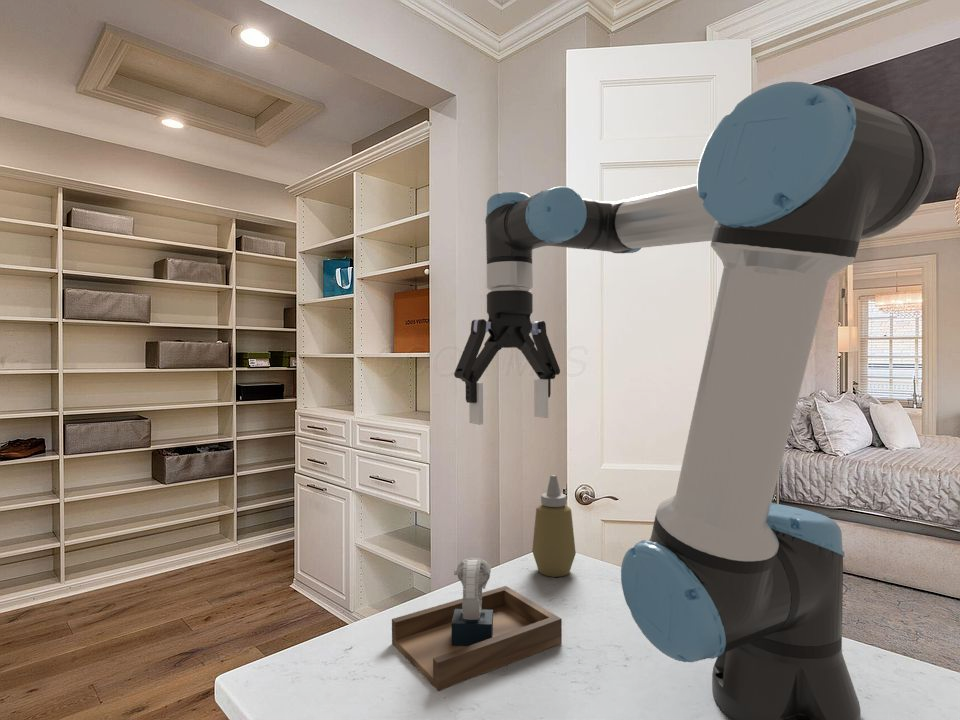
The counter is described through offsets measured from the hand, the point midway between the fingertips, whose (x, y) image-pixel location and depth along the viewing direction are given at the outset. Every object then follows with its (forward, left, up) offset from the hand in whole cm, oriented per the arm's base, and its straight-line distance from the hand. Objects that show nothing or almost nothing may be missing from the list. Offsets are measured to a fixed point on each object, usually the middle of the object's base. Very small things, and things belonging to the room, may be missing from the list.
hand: (510, 420), depth 93 cm
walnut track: (-8, +12, -30) cm, 33 cm away
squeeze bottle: (+5, -14, -30) cm, 34 cm away
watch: (-8, +13, -29) cm, 33 cm away
